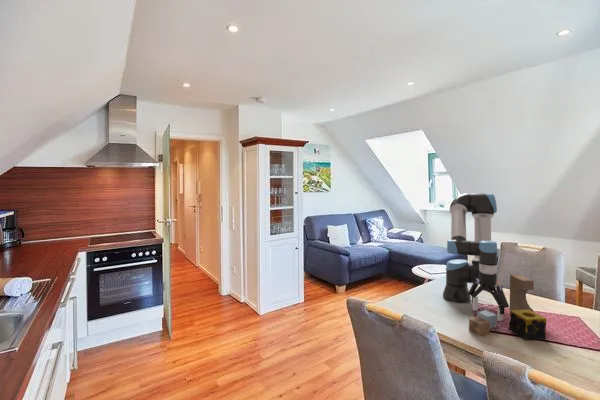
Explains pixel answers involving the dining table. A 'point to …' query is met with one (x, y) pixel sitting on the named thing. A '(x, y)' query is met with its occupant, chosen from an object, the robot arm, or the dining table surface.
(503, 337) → the dining table surface
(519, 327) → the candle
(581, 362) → the dining table surface
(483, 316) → the slate block
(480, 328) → the walnut cube
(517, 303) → the decorative block
